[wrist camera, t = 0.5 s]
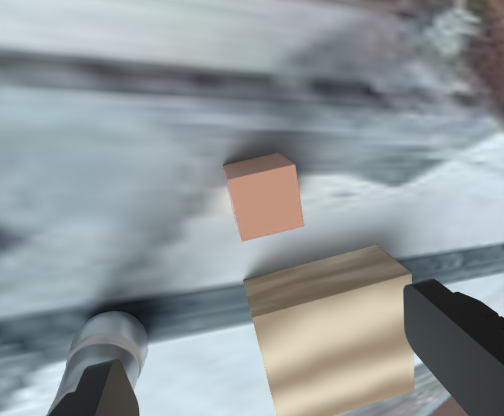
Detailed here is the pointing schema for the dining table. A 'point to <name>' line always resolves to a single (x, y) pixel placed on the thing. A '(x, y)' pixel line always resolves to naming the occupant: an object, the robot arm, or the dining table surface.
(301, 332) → the beige square slab
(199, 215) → the dining table surface
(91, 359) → the plastic bottle
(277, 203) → the terracotta block
